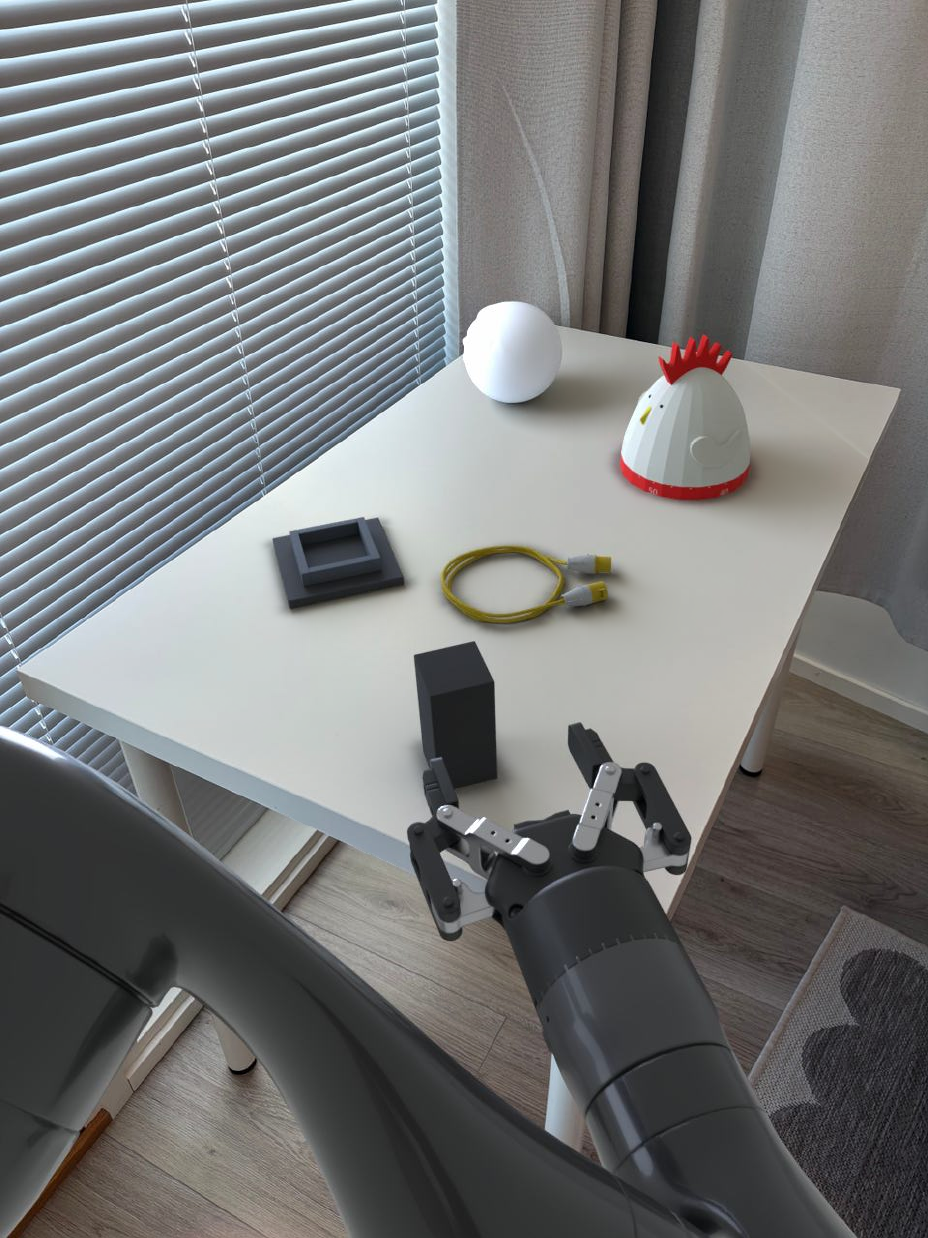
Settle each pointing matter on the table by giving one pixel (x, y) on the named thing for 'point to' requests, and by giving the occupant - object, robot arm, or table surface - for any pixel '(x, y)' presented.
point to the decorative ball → (512, 351)
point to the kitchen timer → (688, 429)
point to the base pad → (336, 561)
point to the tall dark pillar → (458, 712)
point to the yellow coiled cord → (578, 563)
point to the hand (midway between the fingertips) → (505, 750)
